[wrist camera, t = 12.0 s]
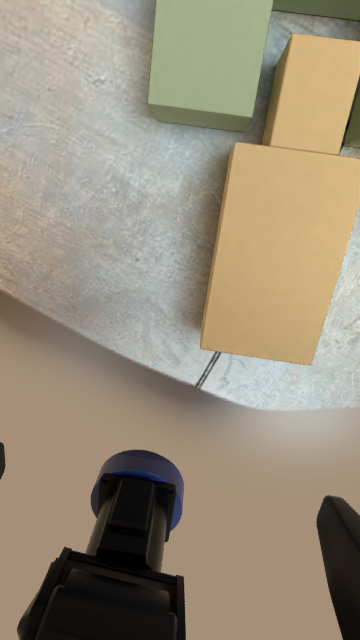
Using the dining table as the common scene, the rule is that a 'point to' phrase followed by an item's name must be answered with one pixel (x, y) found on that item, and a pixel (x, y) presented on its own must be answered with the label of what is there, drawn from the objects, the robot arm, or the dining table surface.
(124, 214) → the dining table surface
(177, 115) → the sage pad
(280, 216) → the sand pad
